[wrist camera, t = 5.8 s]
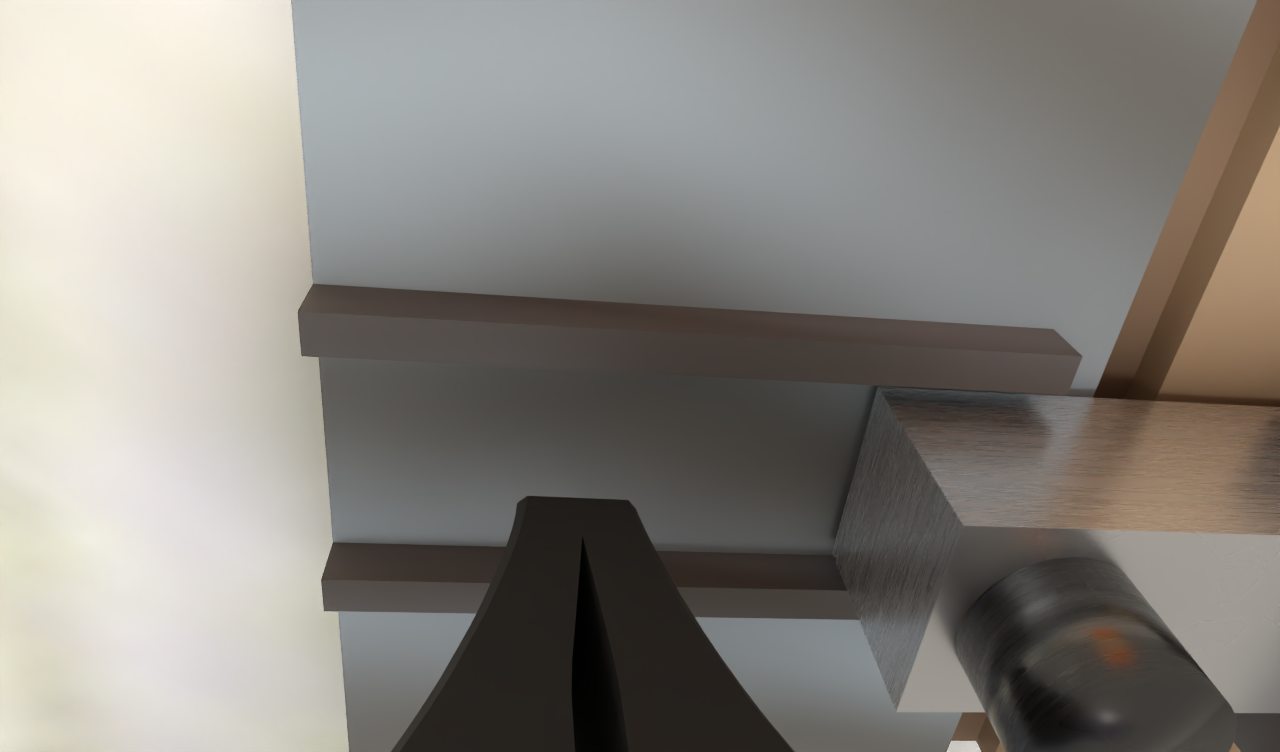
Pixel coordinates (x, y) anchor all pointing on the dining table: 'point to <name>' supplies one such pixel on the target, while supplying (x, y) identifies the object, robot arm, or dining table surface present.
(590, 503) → the robot arm
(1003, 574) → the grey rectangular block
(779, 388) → the slide bolt latch board
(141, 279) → the dining table surface
